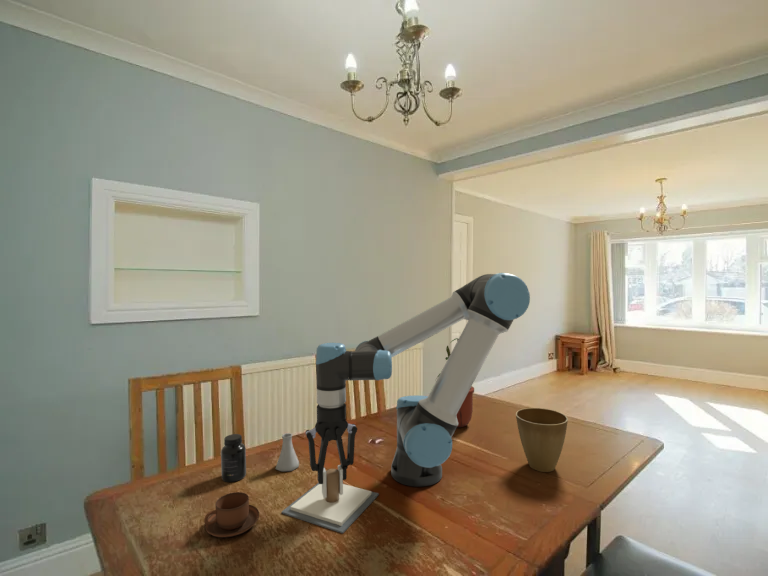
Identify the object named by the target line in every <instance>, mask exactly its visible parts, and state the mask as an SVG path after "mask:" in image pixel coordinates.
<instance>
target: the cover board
mask: <svg viewBox="0 0 768 576" xmlns="http://www.w3.org/2000/svg"><path fill="white" fill-rule="evenodd" d="M325 470H326V488H327V498H323V495H322V484H319V485H317V486H316V487H315V488H313V489H312V490H311V491H310V492H308V493H307V494H306V495H305V496H303V497H302V498H301V499H300V500H298V501H297V502H296V503H295V504H293V505H292V506H291V510H293V511H296V512H299V513H302V514H305V515H308V516H312V517H315V518H318V519H321V520H324V521H327V522H330V523H334V524H337V525H340V526H342V525H343V524H344V523H345V522H346V521H347V519H348V518H349V517H350V516H351V515H352V514H353V513H354V512H355V511H356V510H357V509H358V508H359V507H360V506H361V505H362V504H363V503H364V502H365V501H366V500H367V499H368V498H369V497H370V495H371V494H372V492H373V490H372V491H371V490H368V489H365V488H364V489H363V488H359V487H357V486H353V485H349V484H345V483H343V495H340V494H339V470H338V468H329V469H325Z"/></svg>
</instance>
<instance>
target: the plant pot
mask: <svg viewBox="0 0 768 576" xmlns="http://www.w3.org/2000/svg"><path fill="white" fill-rule="evenodd" d="M515 418H516V419H515V420H516V425H517V430H518V434H519V438H520V442H521V446H522V449H523V451H524V455H525V457H526V461H527V463H528V465H529V467H530V468H531V469H532V470H535V471H537V472H541V473H542V472H543V473H550V472H553V471H555V470H556V467H557V465H558V463H559V460H560V457H561V454H562V451H563V449H564V448H563V446H564V443H565V440H566V439H565V438H566V434H567V428H568V422H569V421H568V416H567V415H566V414H564V413H563V412H560V411H557V410H554V409H550V408H541V407H527V408H521V409H518V410H517V411H516V412H515Z"/></svg>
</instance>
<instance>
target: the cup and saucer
mask: <svg viewBox="0 0 768 576" xmlns="http://www.w3.org/2000/svg"><path fill="white" fill-rule="evenodd" d="M249 497H250V496H249V495H248V494H247V493H246V492H242V491H241V492H240V491H239V492H238V491H236V492H235V491H234V492H229V493H227V494H224V495H222V496H221V497H219V498H218V499H217V500H216V501H215V510H211V511H209V512H208V513H206V514H205V516H204V519H203V520H204V521H203V522H204V529H205V531H206V532H207V533H208V534H209V535H210V536H211V535H212V536H213V537H216V538H231V537H235V536H238V535H241V534H244V533H245V532H247V531H248V530H250V529H251V528H252V527H254V525H256V523H257V522H258V520H259V518H260V511H259V509H258V507H256V506H255V505H252V504H249V503H250V498H249Z"/></svg>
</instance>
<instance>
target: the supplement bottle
mask: <svg viewBox="0 0 768 576" xmlns="http://www.w3.org/2000/svg"><path fill="white" fill-rule="evenodd" d="M242 437H243V436H242V434H239V433H233V434H229V435H226V436H225V437H224V443H223V447H222V448H221V449H220V460H221V462H220V465H221V466H220V467H221V468H220V471H221V479H222V481H223V482H225V483H234V482H238V481H241V480H242V479H244V478H245V477H246V475H247V453H246V452H247V451H246V445H245V444H244V443H243V438H242Z"/></svg>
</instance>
